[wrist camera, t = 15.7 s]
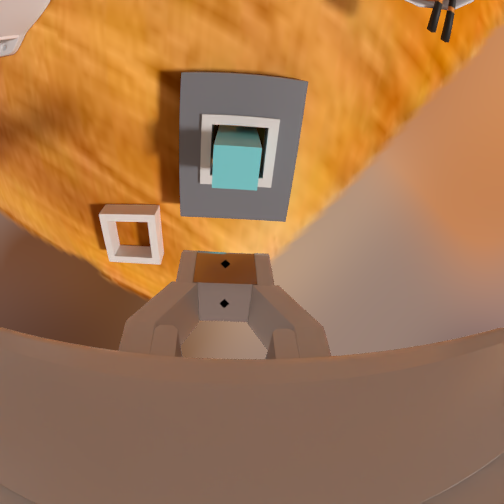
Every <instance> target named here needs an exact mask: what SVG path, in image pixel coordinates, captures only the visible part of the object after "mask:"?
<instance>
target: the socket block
mask: <svg viewBox="0 0 504 504" xmlns="http://www.w3.org/2000/svg"><path fill="white" fill-rule="evenodd" d="M307 86H308V82H307V81H303V80H298V79H292V78H284V77H276V76H268V75H258V74H246V73H229V72H182V73H181V89H180V122H179V177H180V212H181V216H187V217H211V218H232V219H250V220H267V221H283V222H285V221H286V215H287V210H288V204H289V198H290V193H291V187H292V181H293V175H294V169H295V163H296V157H297V151H298V145H299V139H300V132H301V126H302V119H303V113H304V106H305V99H306V93H307ZM214 124H215V125H236V126H250V127H262V128H265V132H264V141H263V150H262V158H261V167H260V170H259V179H258V187H257V191H255V190H240V189H223V188H212V170H213V165H212V158H213V137H214Z"/></svg>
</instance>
